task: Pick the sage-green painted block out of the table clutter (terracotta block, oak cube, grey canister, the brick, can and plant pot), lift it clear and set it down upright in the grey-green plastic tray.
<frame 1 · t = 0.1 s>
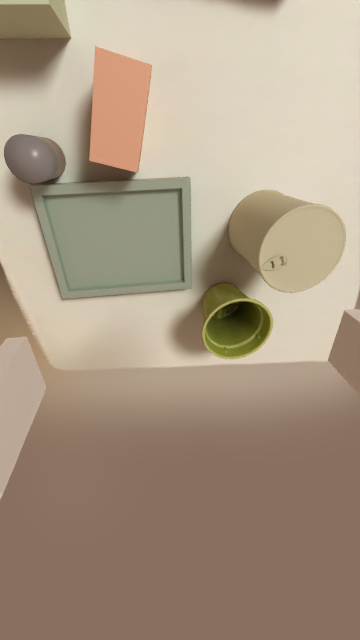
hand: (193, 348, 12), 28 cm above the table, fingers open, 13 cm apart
grey canister: (46, 158, 31), on the table
can: (260, 226, 38), on the table
terracotta block: (123, 123, 30), on the table
sage block: (19, 3, 25), on the table
plant pot: (221, 300, 43), on the table
tray: (122, 239, 36), on the table
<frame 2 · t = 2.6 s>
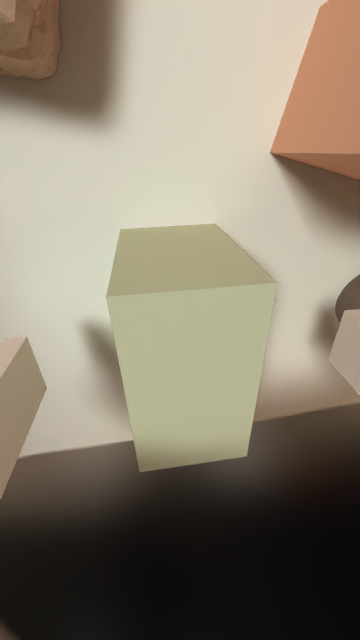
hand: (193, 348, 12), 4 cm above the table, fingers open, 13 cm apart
sage block: (172, 300, 15), on the table
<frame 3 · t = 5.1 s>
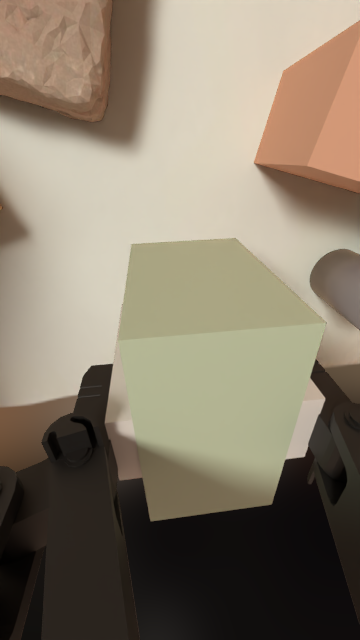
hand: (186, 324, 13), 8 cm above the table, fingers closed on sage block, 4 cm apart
grey canister: (334, 274, 22), on the table
terracotta block: (325, 139, 17), on the table
sage block: (185, 320, 14), point 8 cm above the table, touching gripper
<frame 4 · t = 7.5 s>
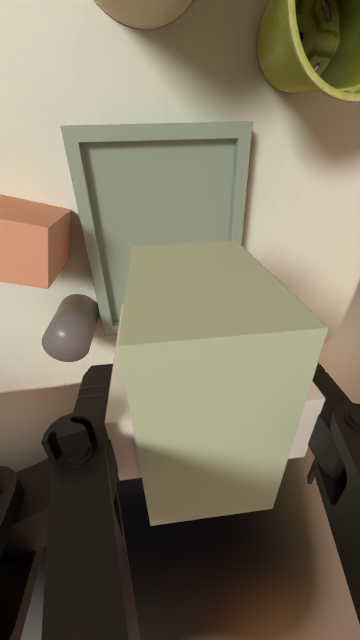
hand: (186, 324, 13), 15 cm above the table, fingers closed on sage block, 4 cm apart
grey canister: (79, 311, 29), on the table
terracotta block: (23, 225, 24), on the table
sage block: (186, 322, 14), point 15 cm above the table, touching gripper
plant pot: (296, 39, 20), on the table
tray: (164, 240, 26), on the table
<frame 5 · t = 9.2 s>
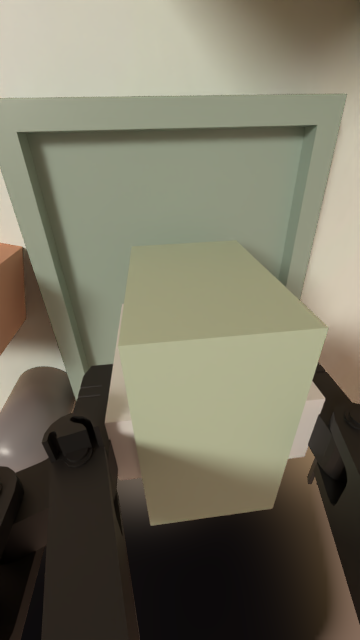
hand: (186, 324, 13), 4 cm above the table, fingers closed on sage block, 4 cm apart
grey canister: (47, 387, 20), on the table
sage block: (186, 322, 14), point 4 cm above the table, touching gripper
tray: (175, 289, 17), on the table
when the fingers open (2 cm above the table, at t = 10.4 s): sage block stays where it is, resting on tray.
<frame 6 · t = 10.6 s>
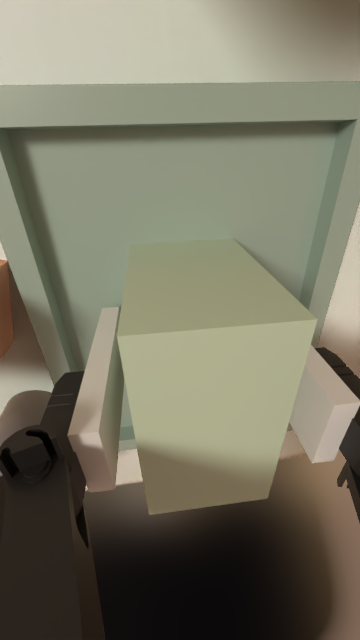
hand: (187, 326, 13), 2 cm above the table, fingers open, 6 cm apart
grey canister: (40, 412, 18), on the table
sage block: (184, 318, 14), point 1 cm above the table, touching tray
tray: (182, 307, 15), on the table
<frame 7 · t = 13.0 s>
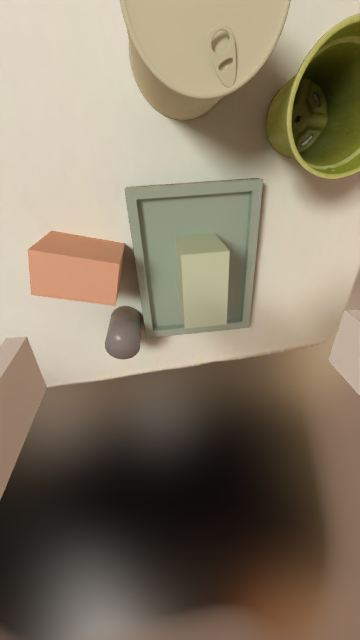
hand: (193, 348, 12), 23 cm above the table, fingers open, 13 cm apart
grey canister: (126, 319, 37), on the table
can: (182, 55, 24), on the table
terracotta block: (88, 256, 32), on the table
sage block: (195, 267, 33), point 1 cm above the table, touching tray
plant pot: (294, 118, 27), on the table
tray: (194, 263, 34), on the table
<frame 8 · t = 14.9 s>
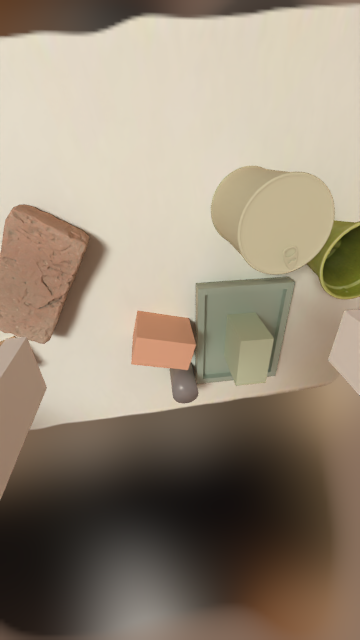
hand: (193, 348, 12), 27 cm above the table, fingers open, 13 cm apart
grey canister: (181, 368, 48), on the table
brick: (42, 273, 37), on the table
can: (245, 207, 35), on the table
terracotta block: (160, 326, 43), on the table
sage block: (239, 334, 44), point 1 cm above the table, touching tray
plant pot: (318, 241, 38), on the table
tray: (237, 330, 45), on the table
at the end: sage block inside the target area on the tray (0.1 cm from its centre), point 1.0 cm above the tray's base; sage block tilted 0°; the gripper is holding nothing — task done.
